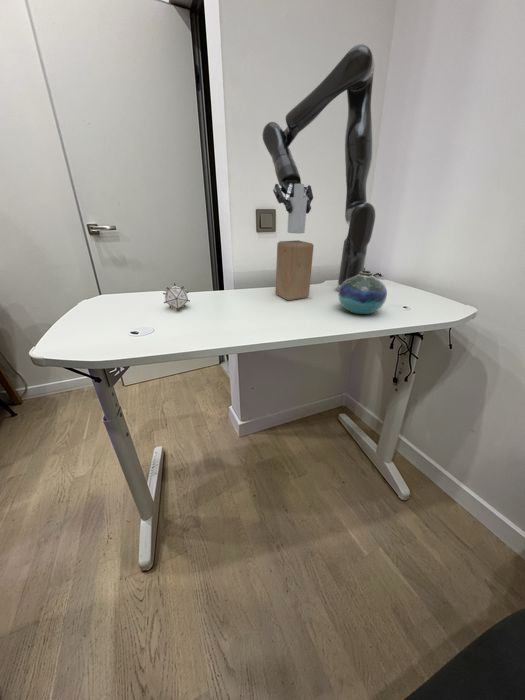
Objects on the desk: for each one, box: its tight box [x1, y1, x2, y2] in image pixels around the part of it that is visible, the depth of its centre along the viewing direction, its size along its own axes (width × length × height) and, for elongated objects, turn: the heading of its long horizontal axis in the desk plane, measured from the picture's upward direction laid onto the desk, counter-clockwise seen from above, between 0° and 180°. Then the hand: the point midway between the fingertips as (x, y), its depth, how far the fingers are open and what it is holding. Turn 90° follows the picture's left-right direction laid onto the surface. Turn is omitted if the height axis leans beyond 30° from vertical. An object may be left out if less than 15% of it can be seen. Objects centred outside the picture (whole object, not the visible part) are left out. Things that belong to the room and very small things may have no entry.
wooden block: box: [274, 240, 315, 301], centre depth 109 cm, size 10×10×20 cm
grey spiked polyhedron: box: [162, 283, 191, 312], centre depth 96 cm, size 9×8×10 cm
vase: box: [338, 270, 388, 315], centre depth 96 cm, size 15×15×13 cm
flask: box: [287, 183, 307, 234], centre depth 99 cm, size 6×6×15 cm
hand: (299, 211), depth 98 cm, fingers closed on flask, 6 cm apart
